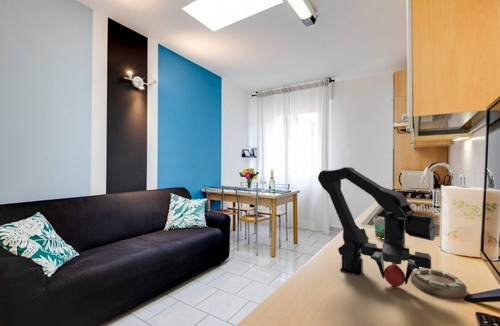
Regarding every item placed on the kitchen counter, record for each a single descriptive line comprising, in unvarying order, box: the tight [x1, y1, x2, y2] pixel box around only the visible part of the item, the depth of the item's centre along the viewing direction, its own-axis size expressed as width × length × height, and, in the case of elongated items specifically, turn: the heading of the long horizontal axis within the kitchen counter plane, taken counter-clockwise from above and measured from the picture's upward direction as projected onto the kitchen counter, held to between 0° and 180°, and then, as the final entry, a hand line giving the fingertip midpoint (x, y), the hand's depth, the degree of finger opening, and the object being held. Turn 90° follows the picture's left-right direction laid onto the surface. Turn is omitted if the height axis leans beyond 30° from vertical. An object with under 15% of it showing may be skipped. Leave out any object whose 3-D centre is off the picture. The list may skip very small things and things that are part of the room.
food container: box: [372, 216, 384, 239], centre depth 125 cm, size 12×6×10 cm, turn 17°
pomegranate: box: [384, 262, 406, 288], centre depth 75 cm, size 6×6×8 cm
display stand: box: [410, 267, 468, 300], centre depth 75 cm, size 14×14×3 cm
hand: (394, 280), depth 75 cm, fingers closed on pomegranate, 6 cm apart
